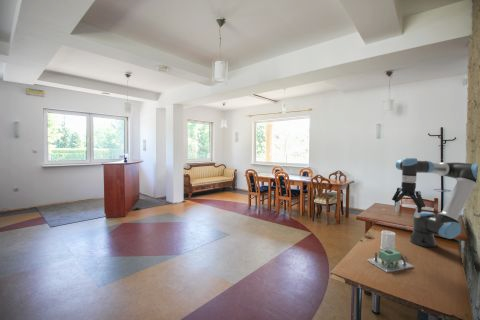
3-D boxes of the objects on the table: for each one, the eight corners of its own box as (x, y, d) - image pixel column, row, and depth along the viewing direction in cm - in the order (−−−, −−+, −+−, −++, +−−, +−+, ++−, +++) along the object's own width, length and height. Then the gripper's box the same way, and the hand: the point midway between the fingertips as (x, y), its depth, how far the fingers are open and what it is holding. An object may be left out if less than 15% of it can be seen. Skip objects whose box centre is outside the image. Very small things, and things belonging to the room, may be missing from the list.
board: (391, 255, 145) (391, 247, 145) (400, 260, 139) (401, 252, 139) (378, 258, 142) (379, 249, 142) (387, 262, 136) (388, 254, 136)
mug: (391, 255, 153) (392, 237, 152) (377, 250, 159) (377, 233, 158) (396, 249, 161) (397, 232, 160) (382, 245, 167) (383, 229, 166)
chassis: (391, 256, 151) (392, 247, 150) (413, 267, 137) (414, 257, 137) (367, 260, 145) (367, 251, 144) (387, 272, 131) (387, 262, 131)
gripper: (387, 179, 161) (385, 209, 163) (424, 185, 138) (422, 220, 139) (395, 179, 164) (393, 208, 165) (433, 184, 140) (431, 219, 141)
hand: (406, 214), depth 152 cm, fingers open, 13 cm apart
